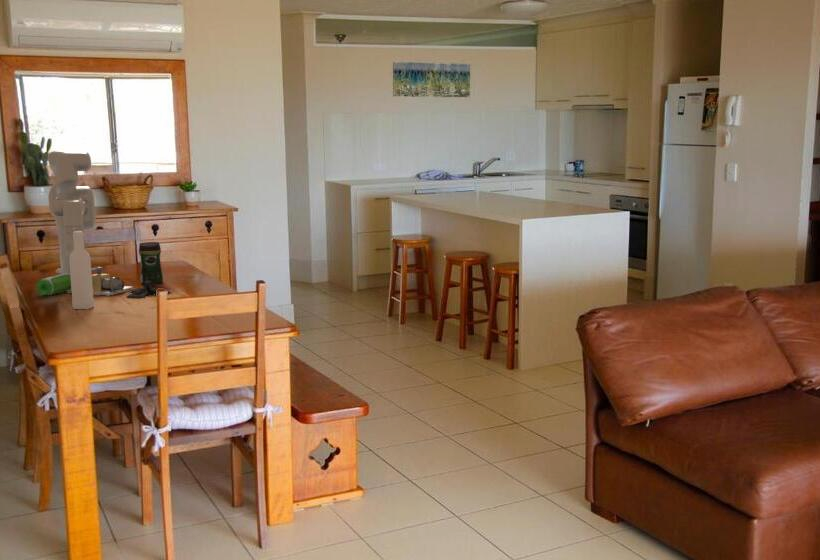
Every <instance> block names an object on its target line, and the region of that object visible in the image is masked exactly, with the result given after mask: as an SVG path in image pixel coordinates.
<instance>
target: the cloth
mask: <svg viewBox="0 0 820 560" xmlns="http://www.w3.org/2000/svg"><path fill="white" fill-rule="evenodd" d="M143 285H144V286H143V287H139V288H135V289H134V288H133V290H130V292H129V293H132V294H129V293H128V295H127V296H126V297H127V298H126V299H140V298H144V299H146V298H147V297H146V296H148V297H150V296H149V295H151V296H155V298H156V290H157V289H158V288H159V287H157V285H156V284H154V283H153V282H151V281H146V282H145V284H143ZM164 288H165V289H166V290H167V291H168V294H167V295H170V294H173V292H172V291H169V290H168V289H167V288H166V287H164ZM154 294H155V295H154ZM145 297H146V298H145Z"/></svg>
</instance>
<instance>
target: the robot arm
mask: <svg viewBox="0 0 820 560" xmlns="http://www.w3.org/2000/svg"><path fill="white" fill-rule="evenodd" d="M47 162H48V165H49V167H50V169H51V171H52V173H53V175H54V178H55V179H54V180H55V182H54V184H52V186H51V187H50V189H49V191H48V197H47V198H48V208H49V209H48V210H49V212H50V214H51V215H52V216H53V217H54V221H55V226H56V229H57V231H56V232H57V235H58V245H59V258H60V259H59V260H60V268H59V267H58V268H57V269H56V270H55V273H56V274H63V273H69V274H70V264H69V258H70V254H71V253H72V252H73V251H74V240H73V232H75V231H82V232H83V234H84V231H91V230H93V229H95V227H96V225H97V224H96V223H97V221H96V219H97V218H96V208H95V196H94V192H93V189H92V188H91V187H89V186H86V185H85V186H84V185H82V186H80V185H79V186H78V184H79V182H80V181H79V174H78V173H79V172H88V171H90V170H91V169H92V159H91V156H90V153H89V152H88V151H87V150H84V149H83V150H81V149H78V150H77V149H76V150H75V149H73V150H66V149H65V150H64V149H63V150H53V151H50V152H48V154H47ZM83 240H84V250H86V248H87V247H86V241H85V236H83ZM86 251H87V250H86Z"/></svg>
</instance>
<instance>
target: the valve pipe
mask: <svg viewBox="0 0 820 560" xmlns="http://www.w3.org/2000/svg"><path fill="white" fill-rule="evenodd" d="M92 286H93V294H94V295H93V296H99V295H106V296H105V297H111V296H110V295H112V296H114V294H115V295H119V294H122V293H126V292H129V290H130V291H132V289H133V290H134V286H129V285H128V286H127V285H125V281H124V280H123V279H120V277H117V276H113V277H110V273H101V274H97V273H94V274H92ZM125 291H126V292H125ZM65 292H66V294H71V293H72V290H71V289H69V290H66V291H65ZM118 293H119V294H118Z"/></svg>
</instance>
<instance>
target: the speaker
mask: <svg viewBox="0 0 820 560" xmlns="http://www.w3.org/2000/svg"><path fill="white" fill-rule="evenodd" d="M70 289H71V277H70V274H69V273H63V274H60V273H58V274H56V275H52V276H49V277H45V278H41V280H39V281H38V282H37V283H36V291H37V292H38V293H39V294H40V295H41V296H45V295H48V296H53V295H52V294H54V295H56V294H55V293H58V292H61V293H63V292H62V291H65V292H66V290H70ZM58 294H59V293H58Z"/></svg>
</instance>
